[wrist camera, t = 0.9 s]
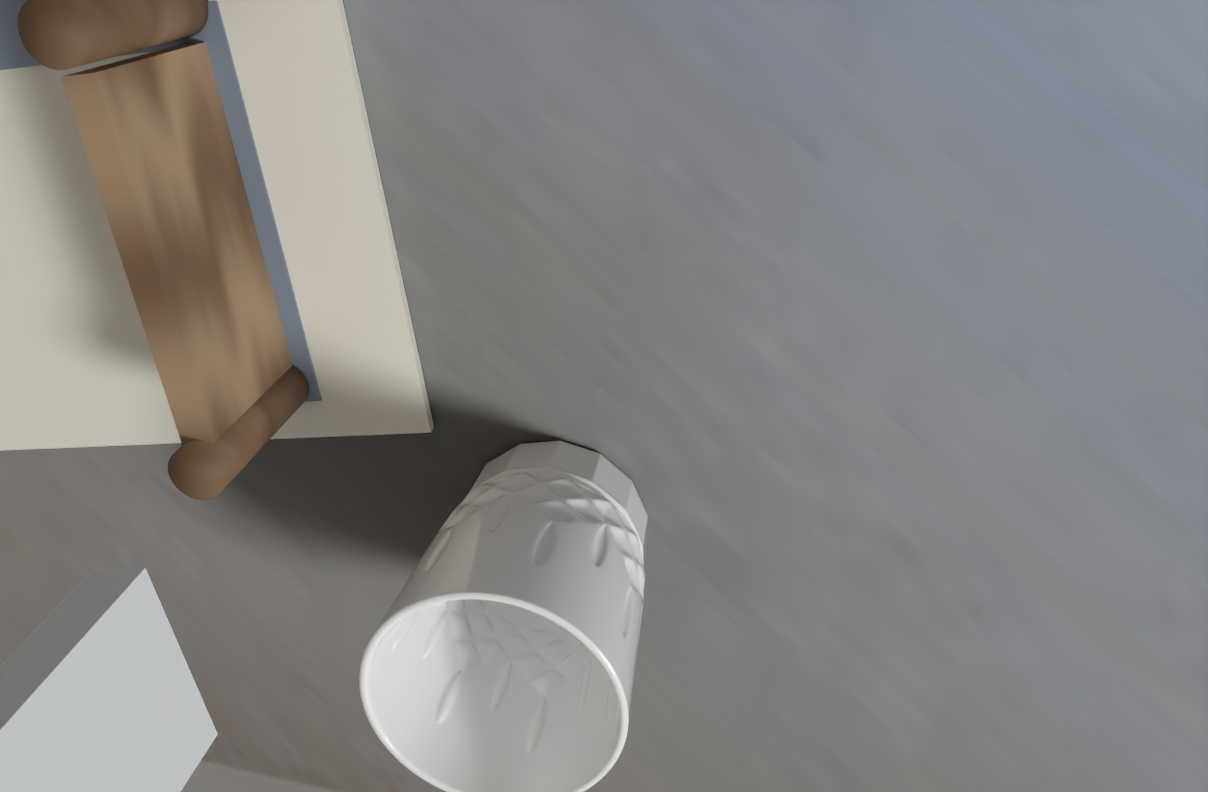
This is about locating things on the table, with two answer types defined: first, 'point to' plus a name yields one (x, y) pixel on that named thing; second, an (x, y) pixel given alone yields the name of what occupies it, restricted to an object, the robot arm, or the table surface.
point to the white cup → (517, 630)
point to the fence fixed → (177, 223)
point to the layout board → (283, 223)
